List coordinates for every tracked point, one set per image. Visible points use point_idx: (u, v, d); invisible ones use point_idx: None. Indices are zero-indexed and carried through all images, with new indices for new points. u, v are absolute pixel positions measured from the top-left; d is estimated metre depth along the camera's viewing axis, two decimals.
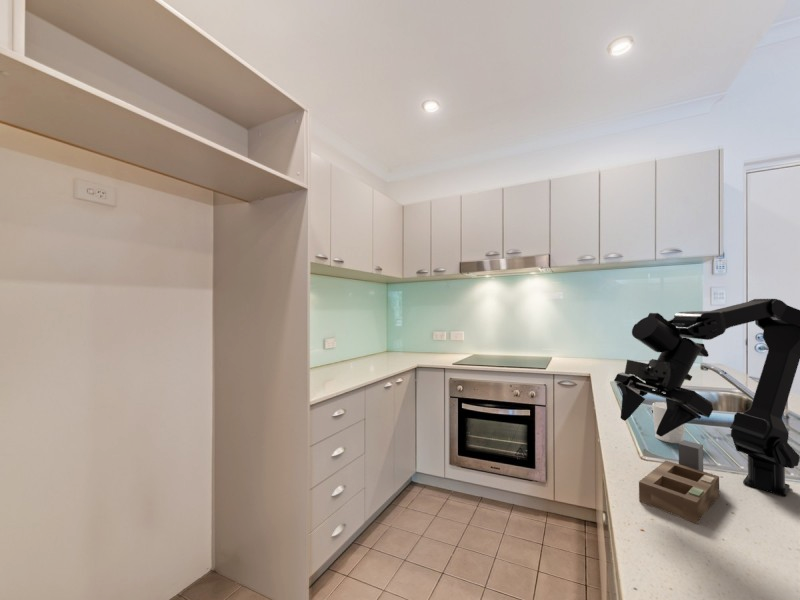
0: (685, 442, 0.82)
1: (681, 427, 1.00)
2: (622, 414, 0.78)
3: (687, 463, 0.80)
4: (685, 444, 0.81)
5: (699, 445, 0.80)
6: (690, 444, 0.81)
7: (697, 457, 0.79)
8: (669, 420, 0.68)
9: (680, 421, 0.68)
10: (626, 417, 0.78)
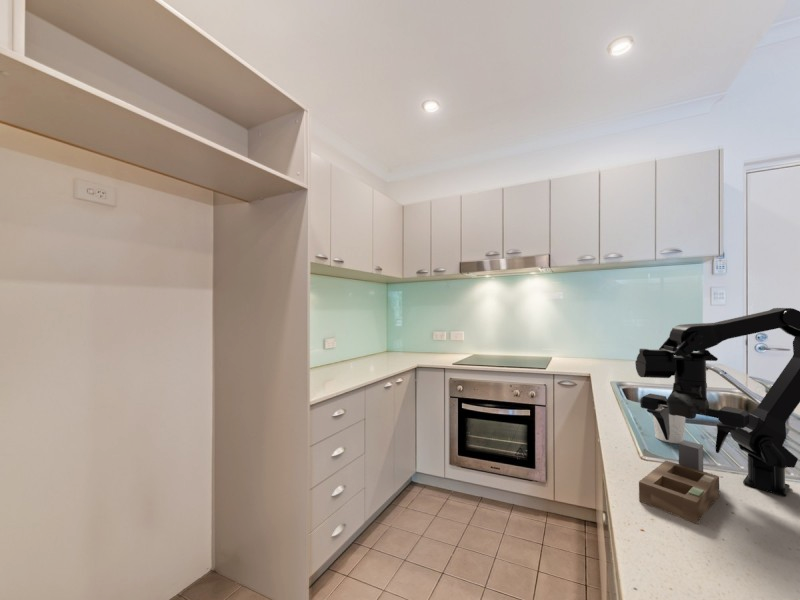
0: (685, 442, 0.82)
1: (681, 427, 1.00)
2: (666, 436, 0.84)
3: (687, 463, 0.80)
4: (685, 444, 0.81)
5: (699, 445, 0.80)
6: (690, 444, 0.81)
7: (697, 457, 0.79)
8: (723, 439, 0.76)
9: (727, 433, 0.77)
10: (668, 436, 0.85)
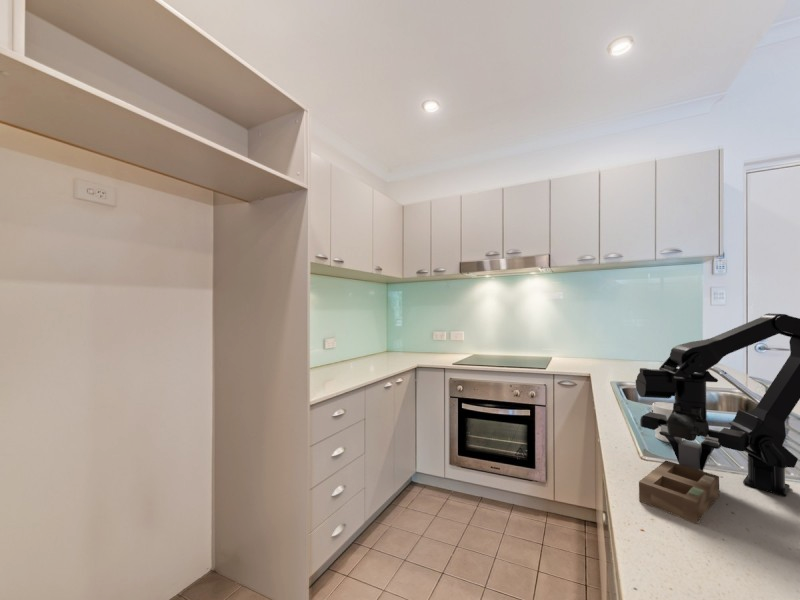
0: (685, 442, 0.82)
1: None
2: None
3: (687, 463, 0.80)
4: (685, 444, 0.81)
5: (699, 445, 0.80)
6: (690, 444, 0.81)
7: (697, 457, 0.79)
8: (707, 457, 0.78)
9: (711, 451, 0.79)
10: None
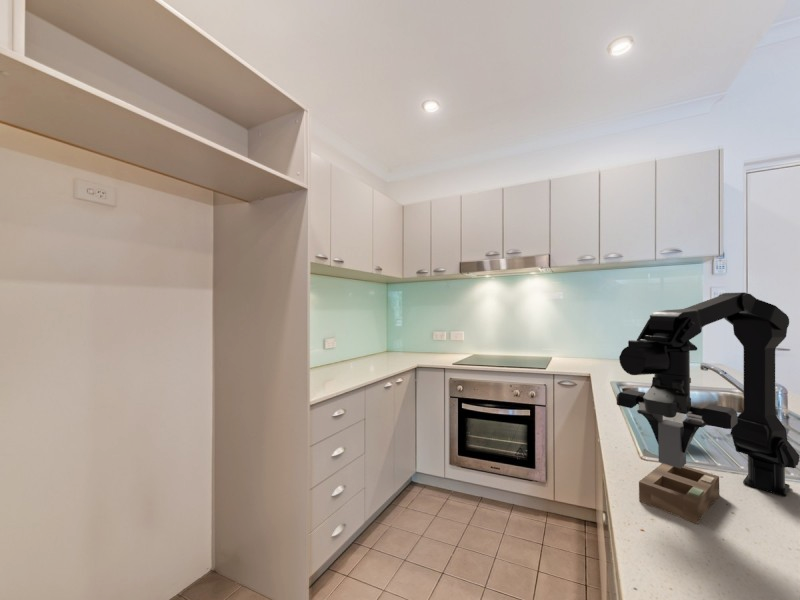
0: (665, 422, 0.72)
1: None
2: None
3: (668, 444, 0.70)
4: (666, 423, 0.71)
5: (681, 424, 0.70)
6: (671, 424, 0.71)
7: (678, 437, 0.69)
8: (690, 437, 0.68)
9: (695, 431, 0.69)
10: None
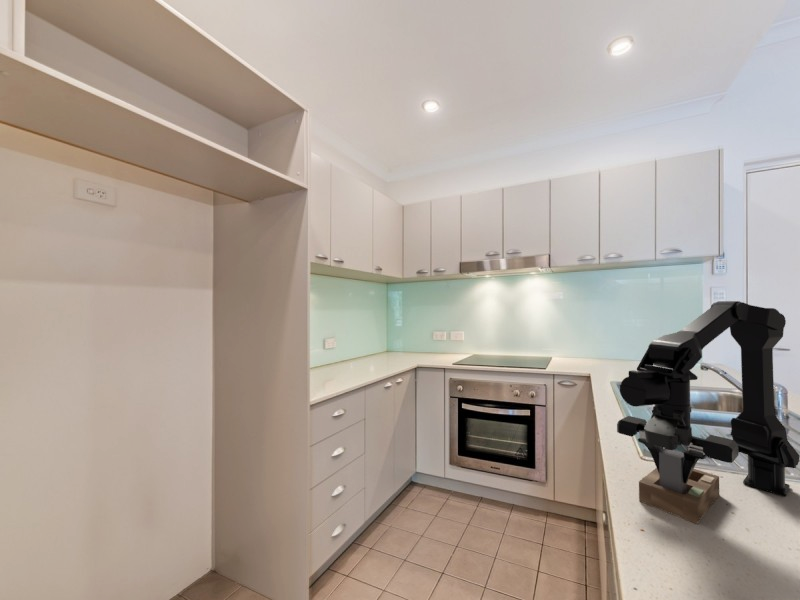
0: (666, 451, 0.71)
1: None
2: None
3: (669, 474, 0.70)
4: (666, 453, 0.71)
5: (682, 454, 0.70)
6: (672, 453, 0.70)
7: (679, 468, 0.68)
8: (691, 468, 0.68)
9: (696, 461, 0.69)
10: None
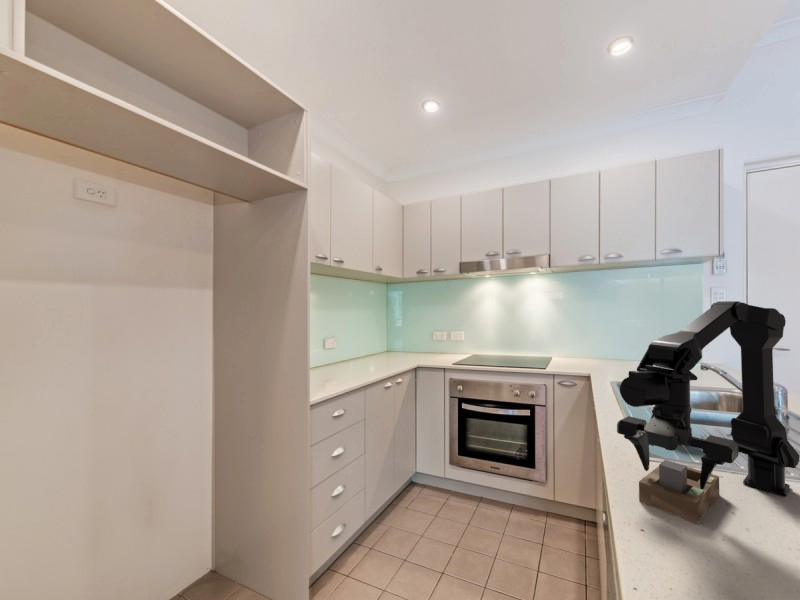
0: (666, 463, 0.71)
1: None
2: (645, 466, 0.74)
3: (669, 487, 0.70)
4: (666, 465, 0.71)
5: (682, 466, 0.70)
6: (672, 466, 0.70)
7: (680, 481, 0.68)
8: (709, 474, 0.66)
9: (713, 466, 0.67)
10: (648, 466, 0.74)
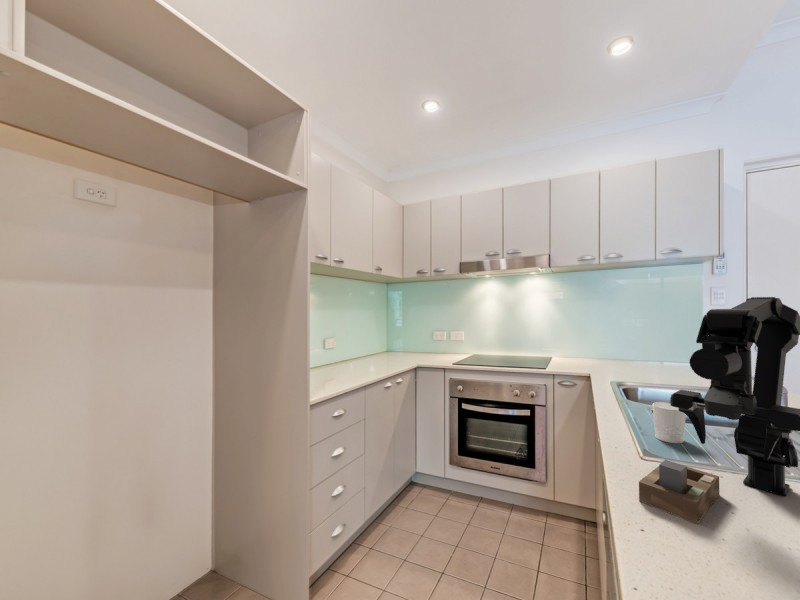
0: (666, 463, 0.71)
1: (681, 427, 1.00)
2: (702, 439, 0.72)
3: (669, 487, 0.70)
4: (666, 465, 0.71)
5: (682, 466, 0.70)
6: (672, 466, 0.70)
7: (680, 481, 0.68)
8: (774, 444, 0.64)
9: None
10: (704, 439, 0.73)
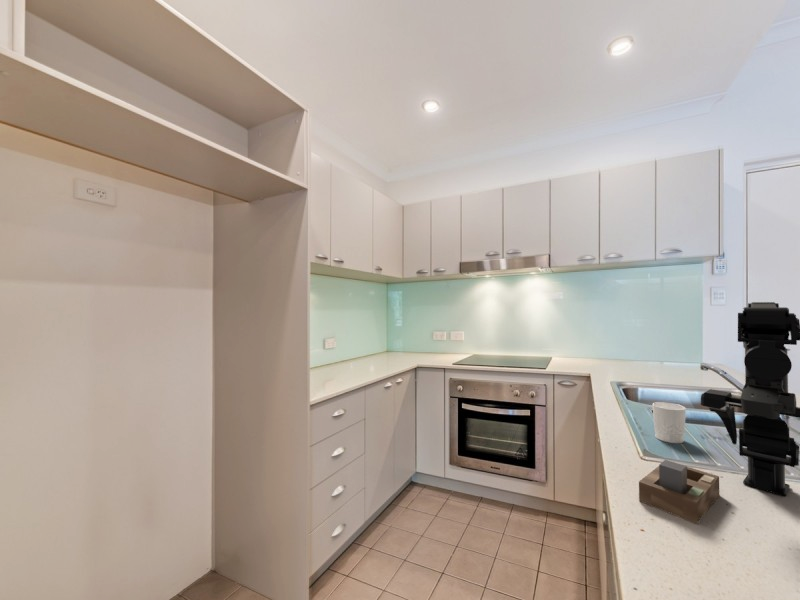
0: (666, 463, 0.71)
1: (681, 427, 1.00)
2: (733, 440, 0.71)
3: (669, 487, 0.70)
4: (666, 465, 0.71)
5: (682, 466, 0.70)
6: (672, 466, 0.70)
7: (680, 481, 0.68)
8: None
9: None
10: (736, 439, 0.71)
